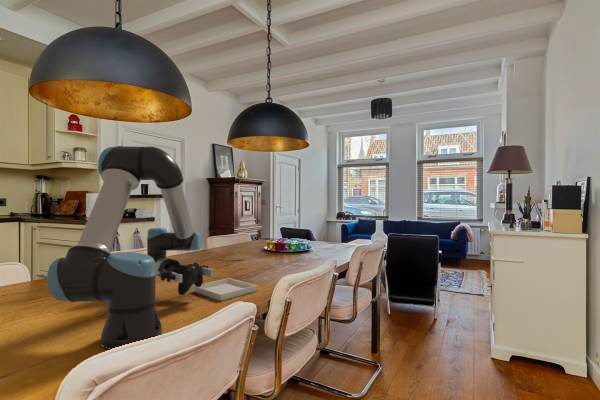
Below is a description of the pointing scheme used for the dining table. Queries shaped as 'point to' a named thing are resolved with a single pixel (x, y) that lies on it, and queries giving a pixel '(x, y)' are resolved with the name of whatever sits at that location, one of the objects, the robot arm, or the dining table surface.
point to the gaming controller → (190, 277)
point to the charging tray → (225, 289)
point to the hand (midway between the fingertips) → (197, 275)
